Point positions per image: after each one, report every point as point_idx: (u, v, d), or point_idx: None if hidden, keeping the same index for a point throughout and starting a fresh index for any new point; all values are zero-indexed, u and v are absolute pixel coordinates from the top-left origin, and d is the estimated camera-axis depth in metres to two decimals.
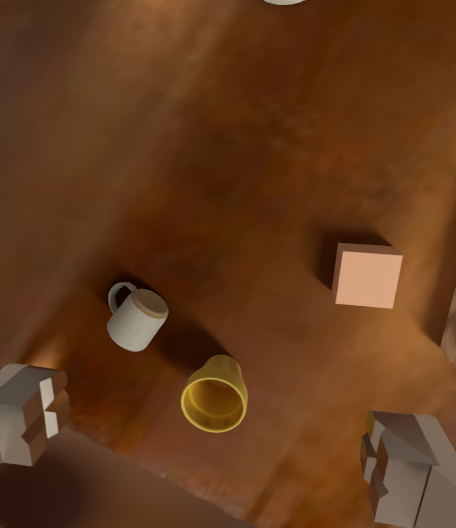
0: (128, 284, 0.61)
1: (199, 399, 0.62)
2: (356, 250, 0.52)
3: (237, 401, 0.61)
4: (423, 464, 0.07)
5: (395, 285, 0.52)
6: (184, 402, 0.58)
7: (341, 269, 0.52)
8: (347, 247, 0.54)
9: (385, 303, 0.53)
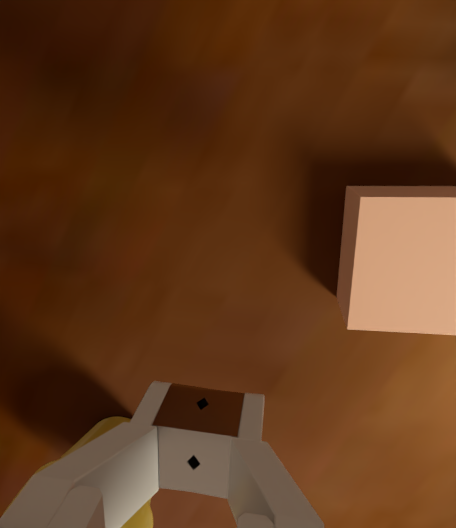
0: None
1: None
2: (394, 194, 0.20)
3: None
4: (225, 436, 0.08)
5: None
6: None
7: (358, 245, 0.21)
8: (370, 191, 0.22)
9: None
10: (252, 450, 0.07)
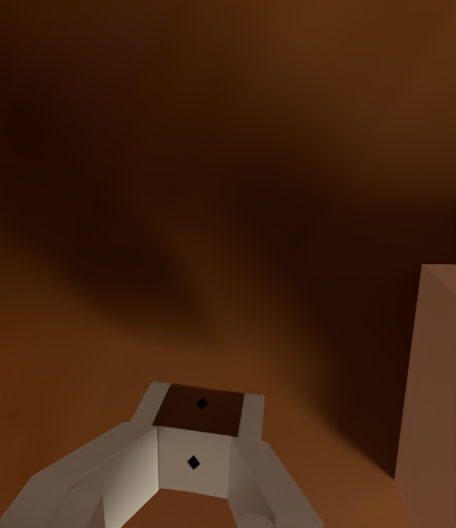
0: None
1: None
2: None
3: None
4: (225, 436, 0.08)
5: None
6: None
7: None
8: None
9: None
10: (252, 450, 0.07)
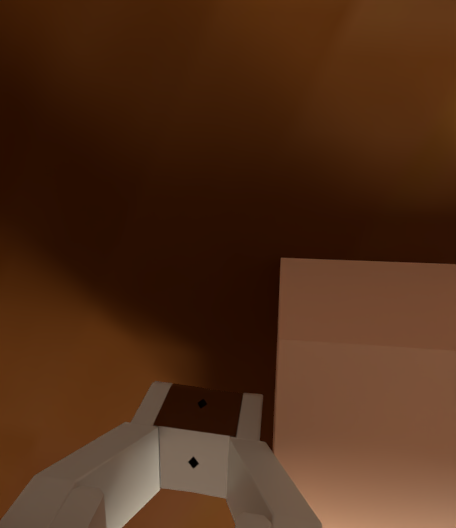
0: None
1: None
2: (383, 320, 0.07)
3: None
4: (224, 436, 0.08)
5: None
6: None
7: (281, 459, 0.07)
8: (322, 291, 0.09)
9: None
10: (251, 450, 0.07)
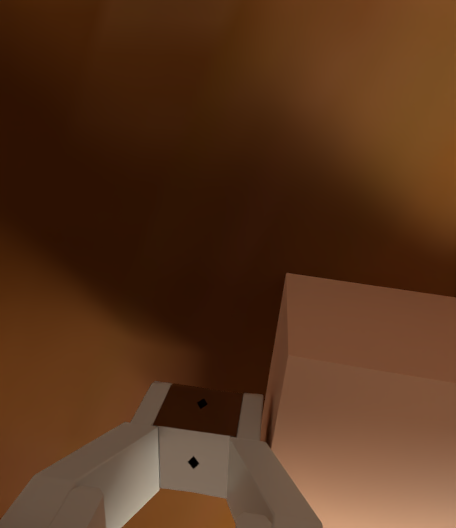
0: None
1: None
2: (384, 345, 0.08)
3: None
4: (224, 436, 0.08)
5: None
6: None
7: None
8: (327, 310, 0.09)
9: None
10: (251, 450, 0.07)
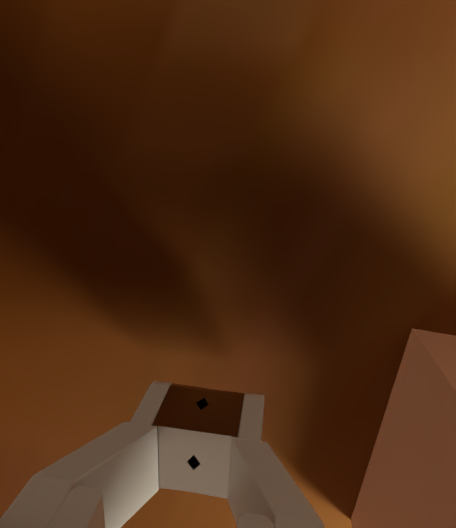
0: None
1: None
2: None
3: None
4: (225, 436, 0.08)
5: None
6: None
7: None
8: None
9: None
10: (252, 450, 0.07)
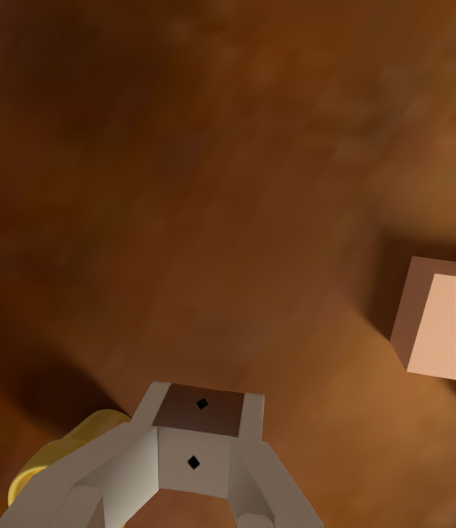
0: None
1: None
2: None
3: None
4: (225, 436, 0.08)
5: None
6: None
7: (426, 308, 0.27)
8: (436, 266, 0.28)
9: None
10: (252, 450, 0.07)
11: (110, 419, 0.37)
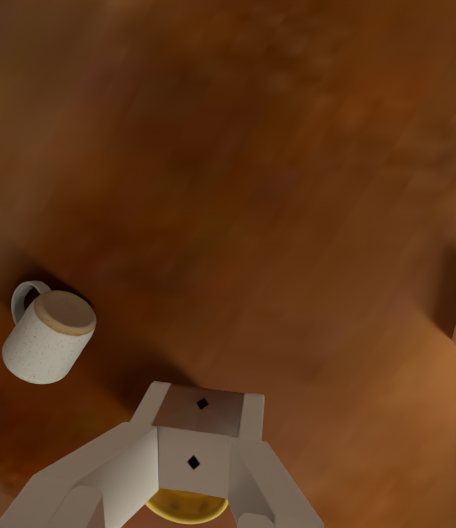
0: (37, 284, 0.42)
1: None
2: None
3: None
4: (226, 436, 0.08)
5: None
6: None
7: None
8: None
9: None
10: (253, 450, 0.07)
11: None
